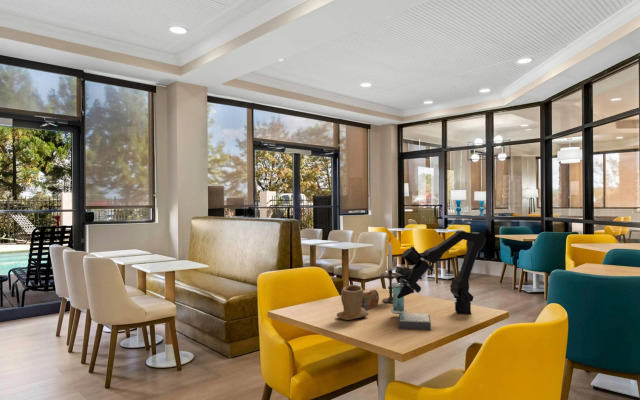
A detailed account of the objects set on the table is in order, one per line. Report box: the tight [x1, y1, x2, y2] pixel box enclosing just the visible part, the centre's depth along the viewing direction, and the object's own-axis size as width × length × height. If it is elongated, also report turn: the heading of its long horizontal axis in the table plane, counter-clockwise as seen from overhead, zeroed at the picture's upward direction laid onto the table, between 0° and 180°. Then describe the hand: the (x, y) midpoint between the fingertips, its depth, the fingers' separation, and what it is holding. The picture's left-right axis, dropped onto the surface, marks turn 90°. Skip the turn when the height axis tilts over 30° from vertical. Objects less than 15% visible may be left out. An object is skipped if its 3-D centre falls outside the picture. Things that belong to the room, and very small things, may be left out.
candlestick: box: [379, 236, 402, 305], centre depth 224 cm, size 11×11×35 cm
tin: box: [361, 289, 380, 311], centre depth 211 cm, size 15×3×8 cm, turn 143°
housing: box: [390, 282, 407, 315], centre depth 193 cm, size 7×7×13 cm
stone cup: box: [336, 284, 369, 321], centre depth 192 cm, size 15×12×15 cm
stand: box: [398, 312, 432, 331], centre depth 179 cm, size 13×13×4 cm
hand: (395, 296), depth 192 cm, fingers closed on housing, 5 cm apart
